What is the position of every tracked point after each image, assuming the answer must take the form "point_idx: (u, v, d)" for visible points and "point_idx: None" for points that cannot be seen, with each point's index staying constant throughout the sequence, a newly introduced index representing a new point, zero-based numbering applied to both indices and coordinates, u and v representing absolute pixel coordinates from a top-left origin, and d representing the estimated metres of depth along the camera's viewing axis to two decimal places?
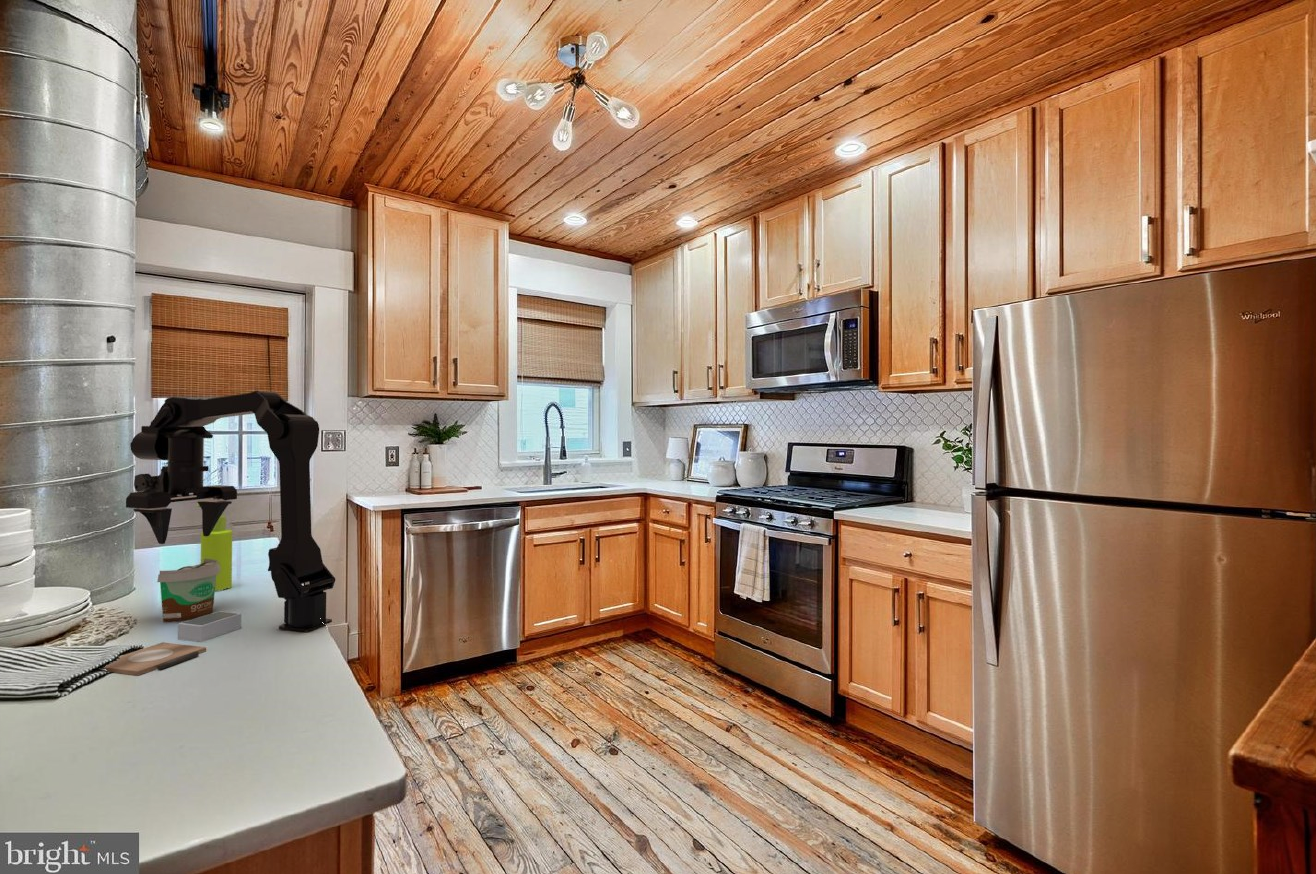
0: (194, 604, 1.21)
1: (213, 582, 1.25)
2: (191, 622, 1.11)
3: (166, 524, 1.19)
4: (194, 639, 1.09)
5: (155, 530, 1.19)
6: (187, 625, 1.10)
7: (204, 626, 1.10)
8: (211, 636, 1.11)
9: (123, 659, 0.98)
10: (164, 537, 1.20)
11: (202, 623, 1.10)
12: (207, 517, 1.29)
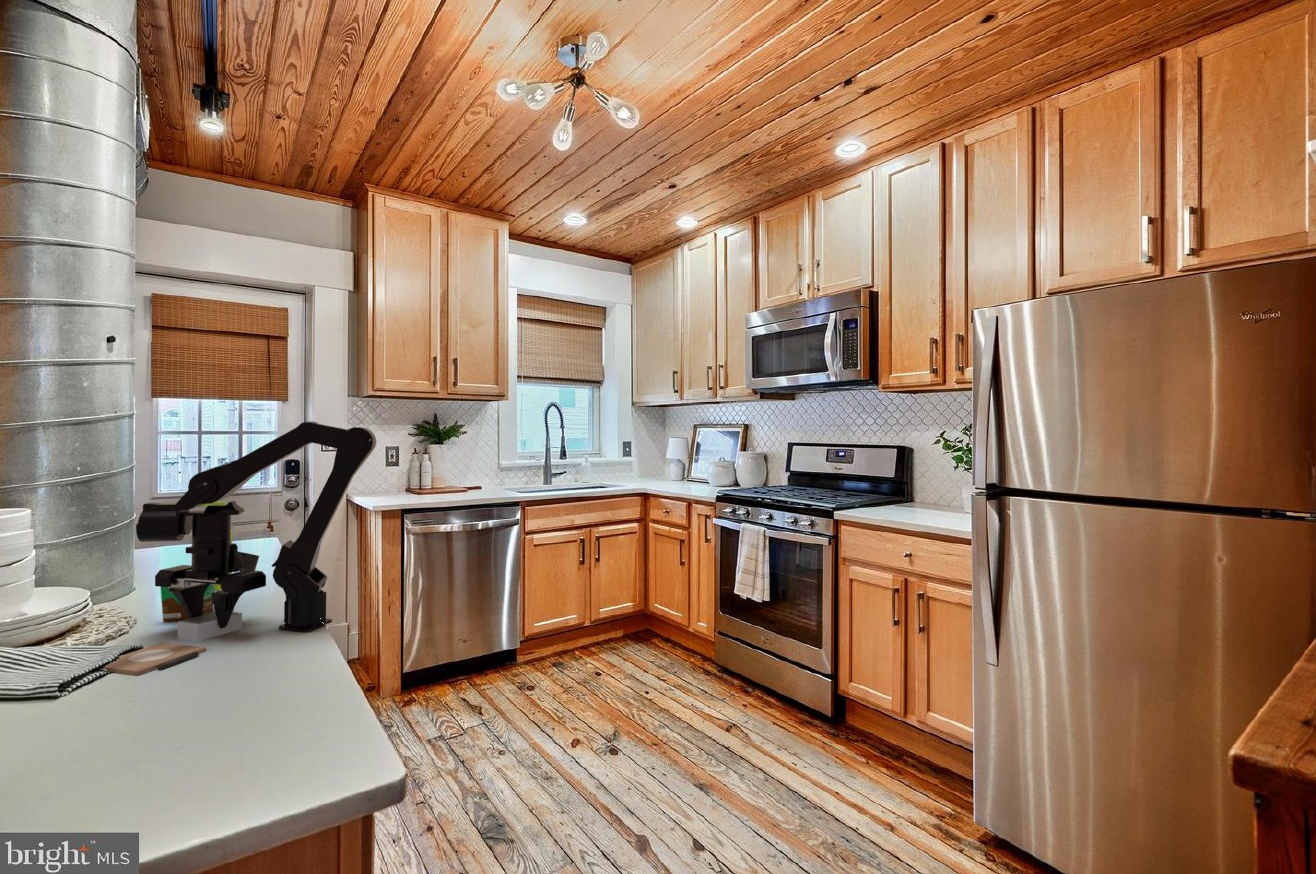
0: None
1: None
2: (190, 620, 1.11)
3: (184, 606, 1.12)
4: (191, 638, 1.09)
5: None
6: (186, 623, 1.10)
7: (201, 625, 1.09)
8: (209, 635, 1.11)
9: (123, 659, 0.98)
10: None
11: (200, 622, 1.10)
12: None
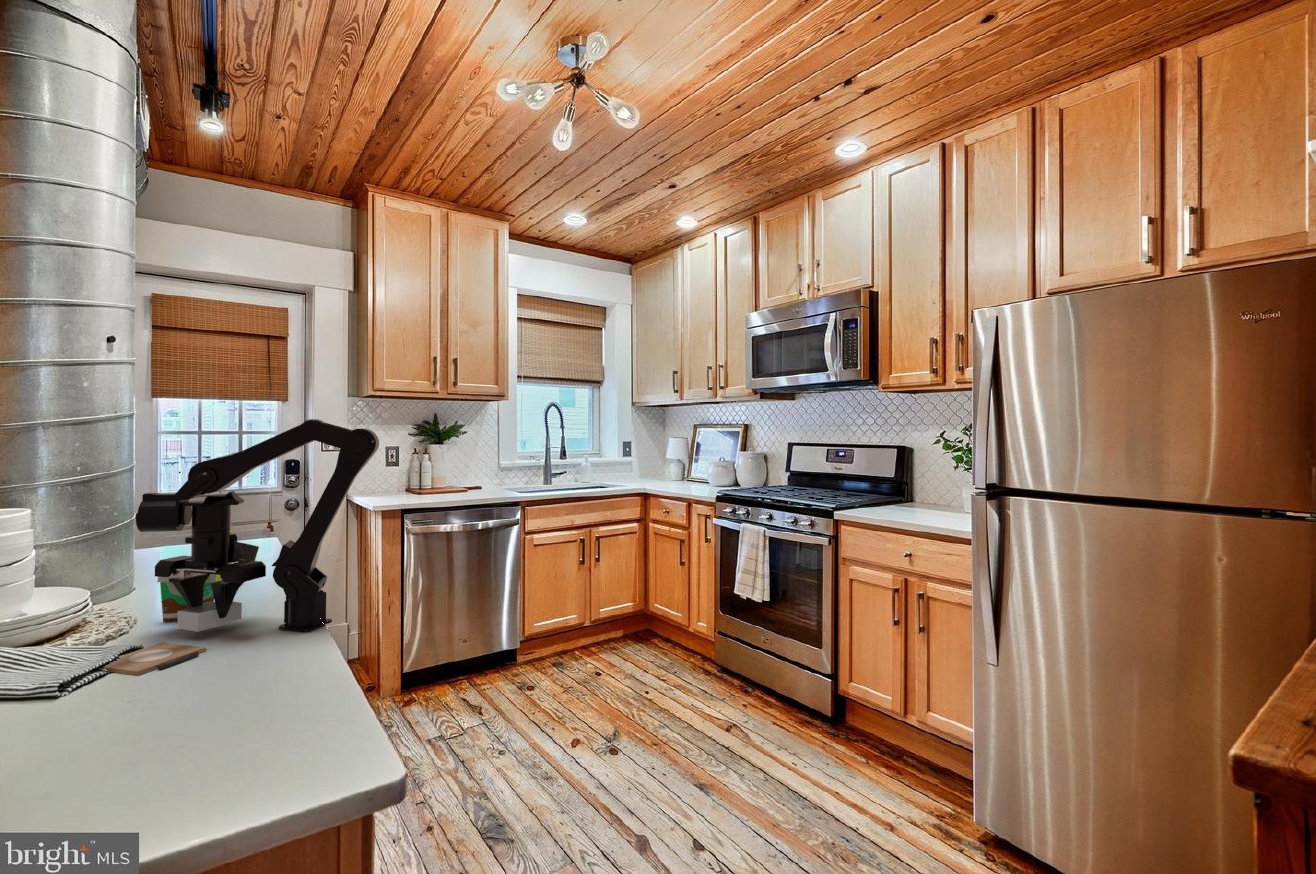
0: None
1: None
2: (190, 610, 1.11)
3: (184, 596, 1.12)
4: (192, 627, 1.09)
5: None
6: (185, 613, 1.10)
7: (201, 614, 1.09)
8: (209, 624, 1.11)
9: (123, 659, 0.98)
10: None
11: (200, 611, 1.10)
12: None
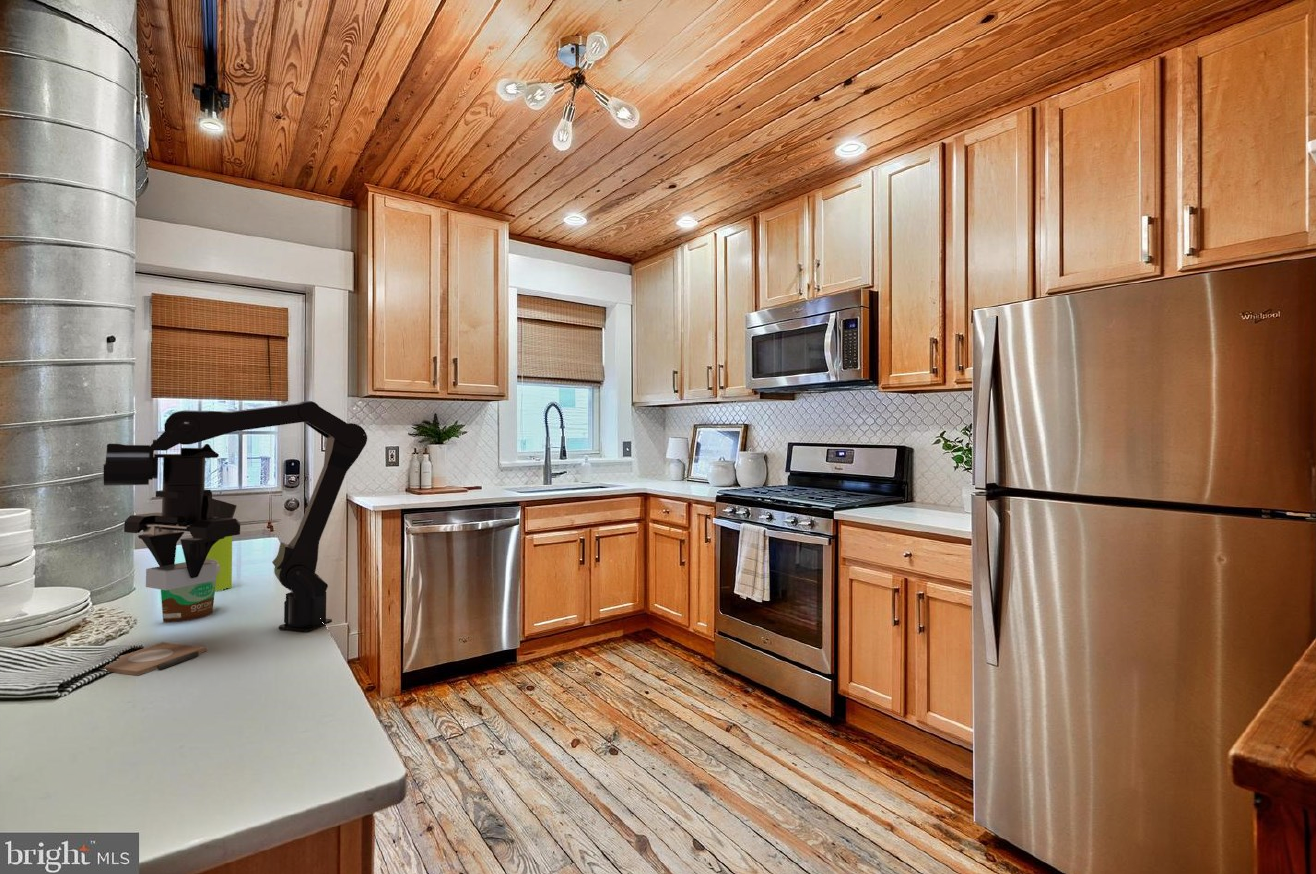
0: (194, 604, 1.21)
1: (213, 582, 1.25)
2: (159, 568, 1.04)
3: (154, 553, 1.06)
4: (160, 585, 1.03)
5: None
6: (154, 570, 1.03)
7: (170, 572, 1.03)
8: (178, 584, 1.04)
9: (123, 659, 0.98)
10: None
11: (169, 569, 1.04)
12: None
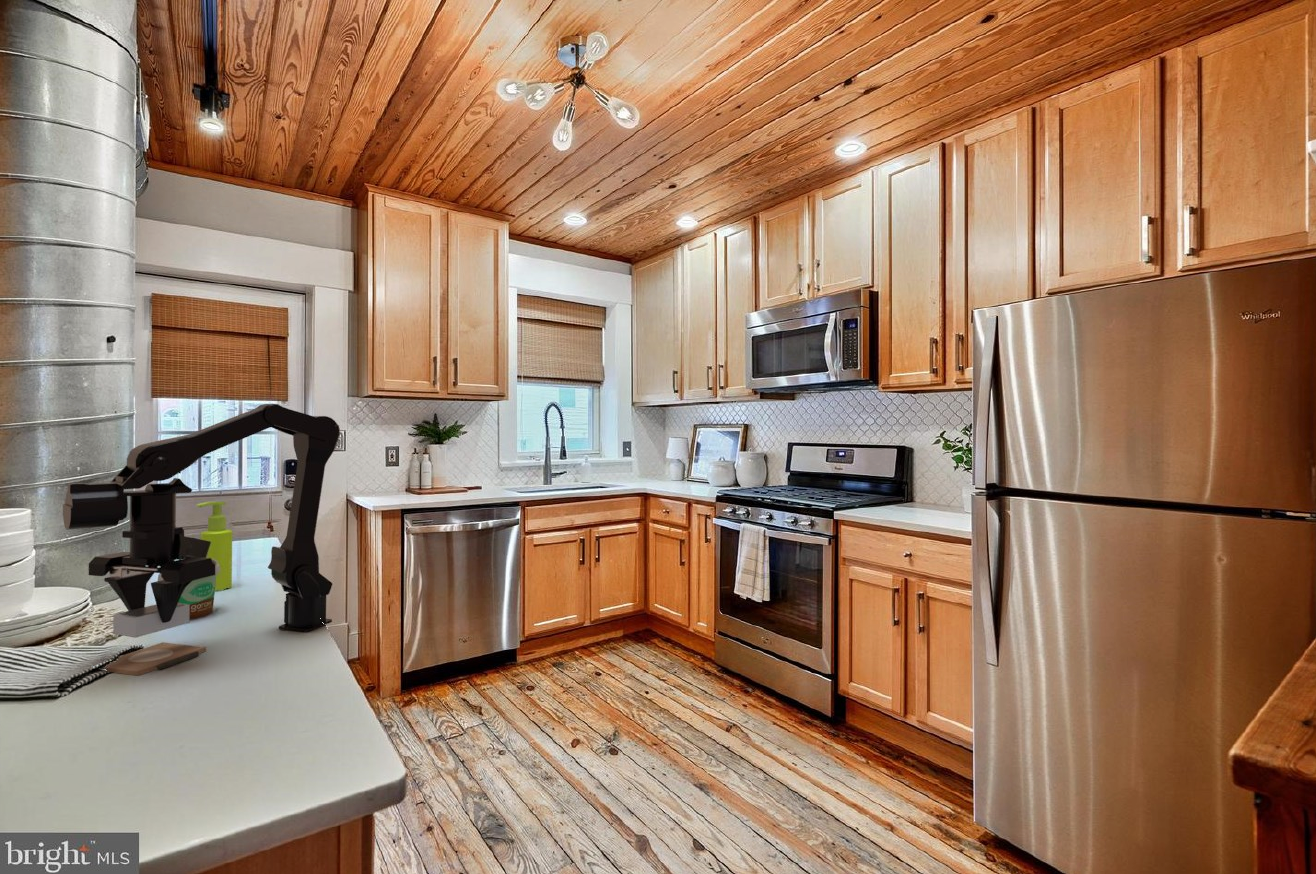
0: (194, 604, 1.21)
1: (213, 582, 1.25)
2: (128, 613, 0.98)
3: (122, 597, 0.99)
4: (129, 632, 0.96)
5: None
6: (122, 616, 0.97)
7: (139, 618, 0.96)
8: (149, 629, 0.98)
9: (123, 659, 0.98)
10: None
11: (138, 614, 0.97)
12: None
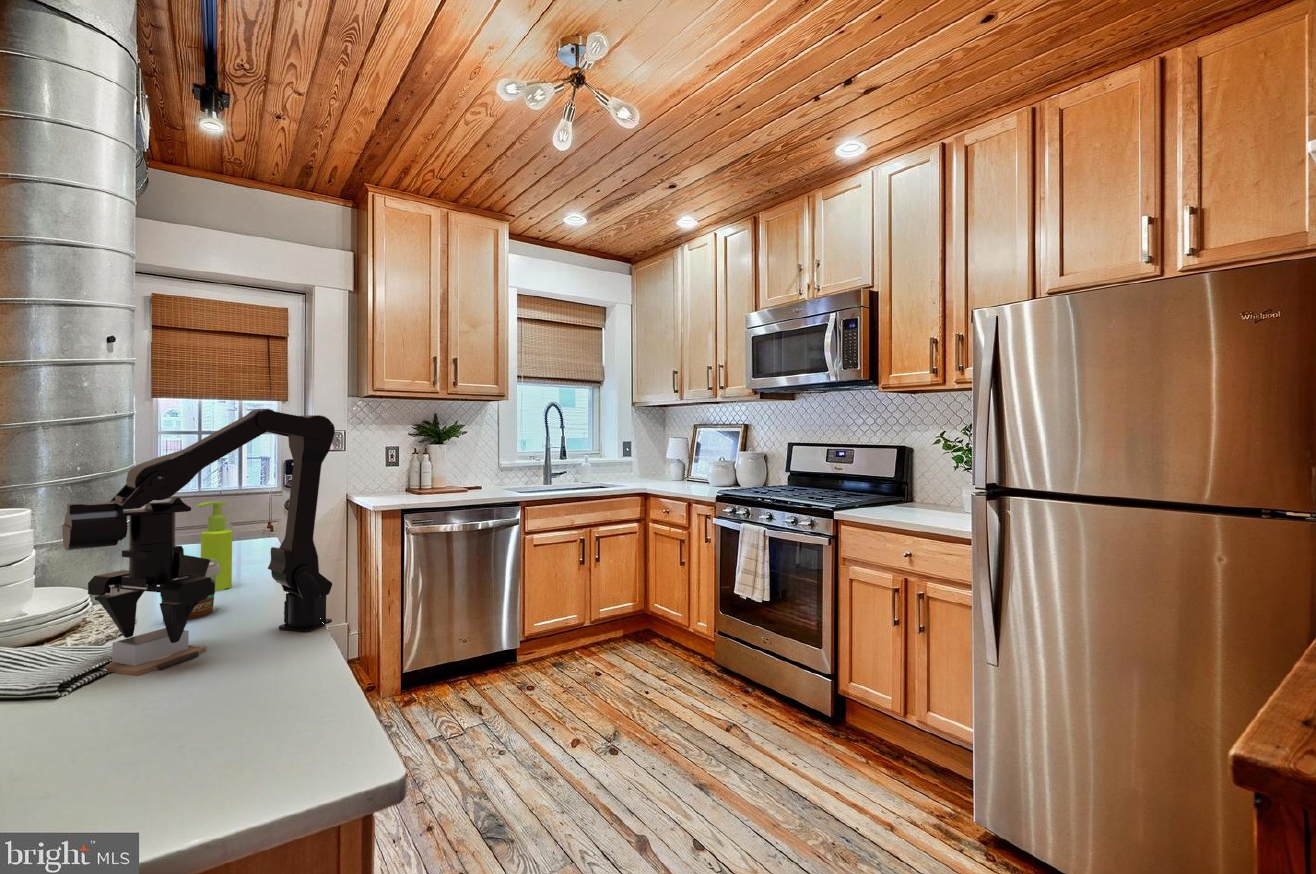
0: None
1: None
2: (127, 641, 0.98)
3: (112, 616, 0.99)
4: (128, 661, 0.96)
5: None
6: (121, 644, 0.97)
7: (139, 646, 0.96)
8: (149, 657, 0.98)
9: None
10: (121, 630, 1.00)
11: (138, 642, 0.97)
12: None
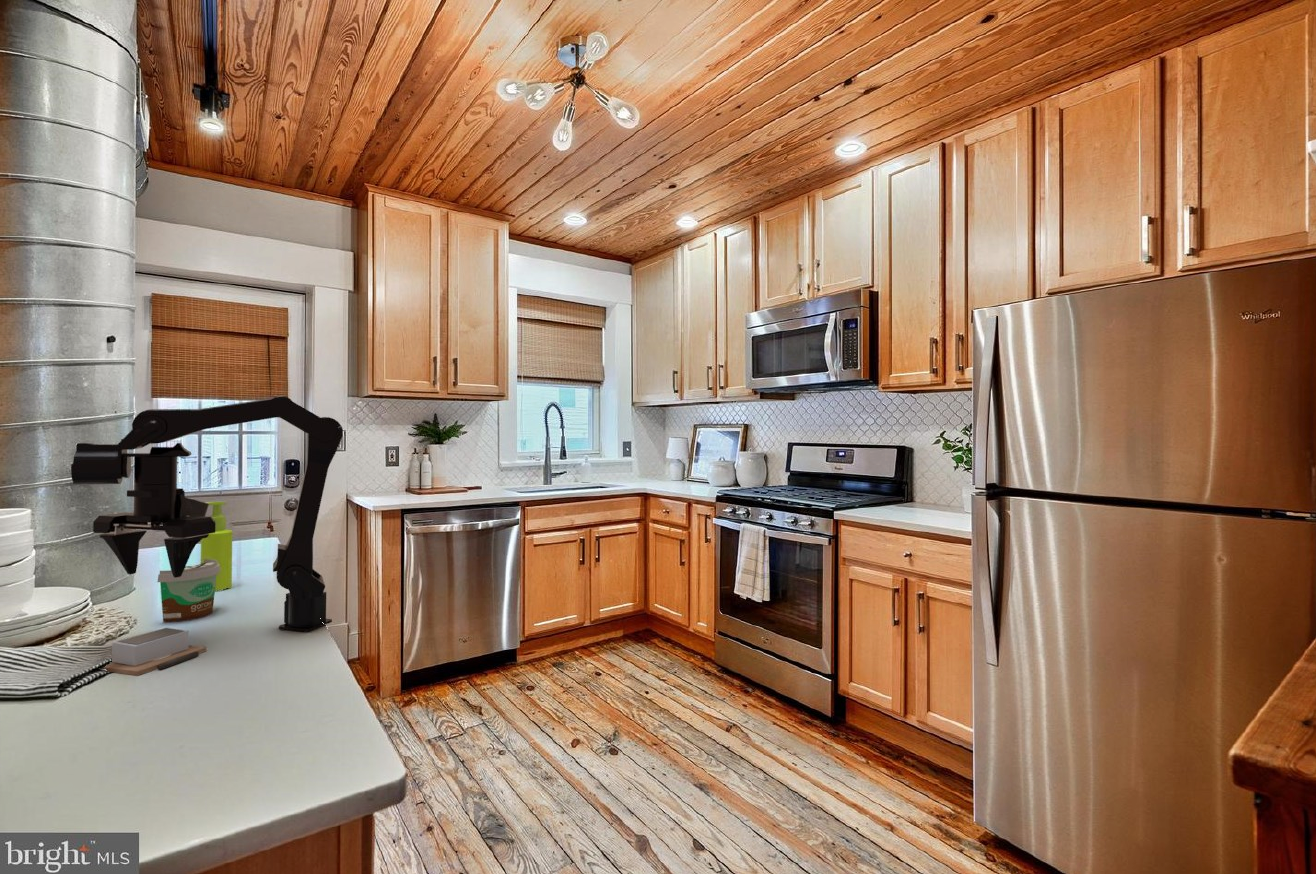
0: (194, 604, 1.21)
1: (213, 582, 1.25)
2: (127, 641, 0.98)
3: (117, 553, 1.06)
4: (128, 661, 0.96)
5: None
6: (121, 644, 0.97)
7: (139, 646, 0.96)
8: (149, 657, 0.98)
9: None
10: (124, 567, 1.07)
11: (138, 642, 0.97)
12: None
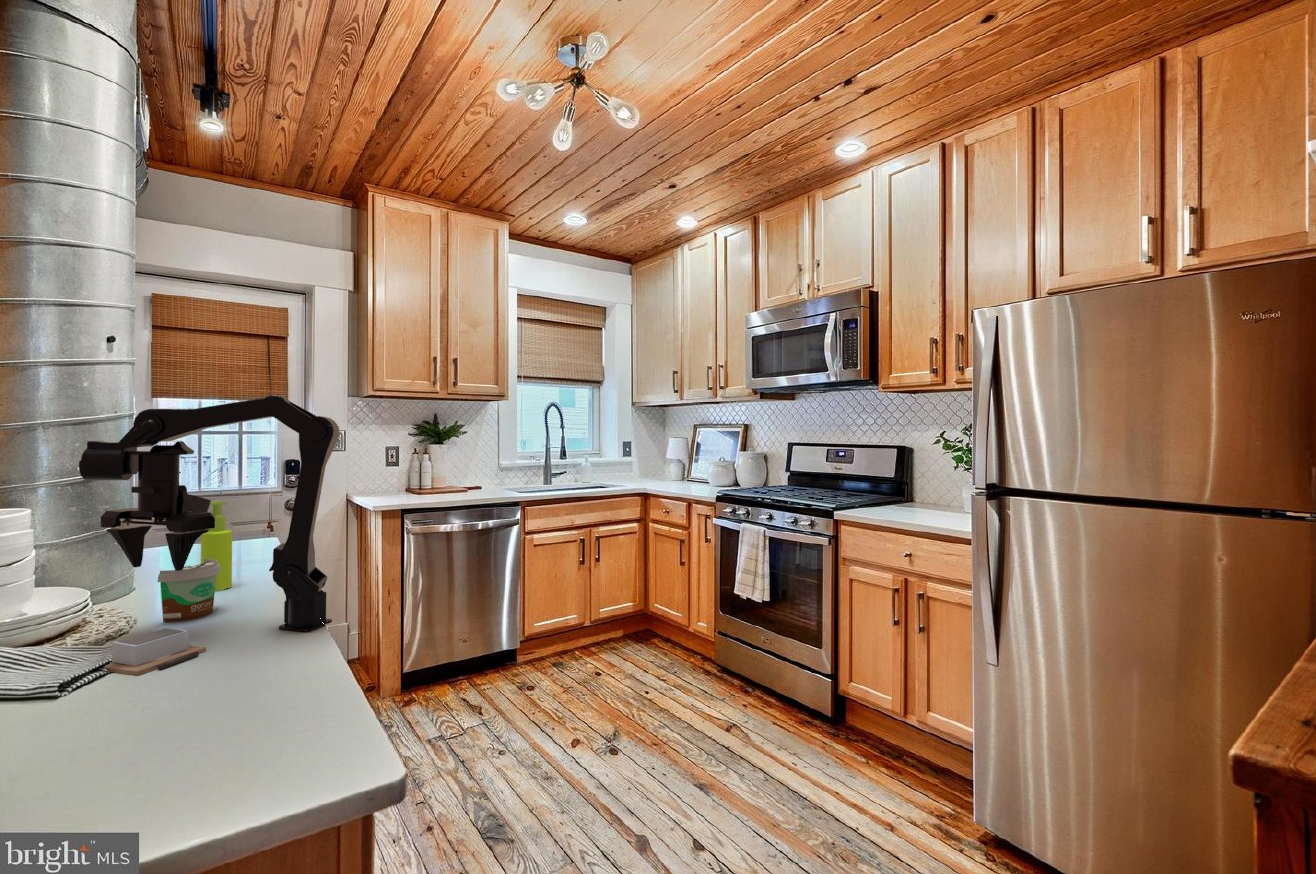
0: (194, 604, 1.21)
1: (213, 582, 1.25)
2: (127, 641, 0.98)
3: (122, 546, 1.10)
4: (128, 661, 0.96)
5: None
6: (121, 644, 0.97)
7: (139, 646, 0.96)
8: (149, 657, 0.98)
9: None
10: (130, 560, 1.11)
11: (138, 642, 0.97)
12: None
